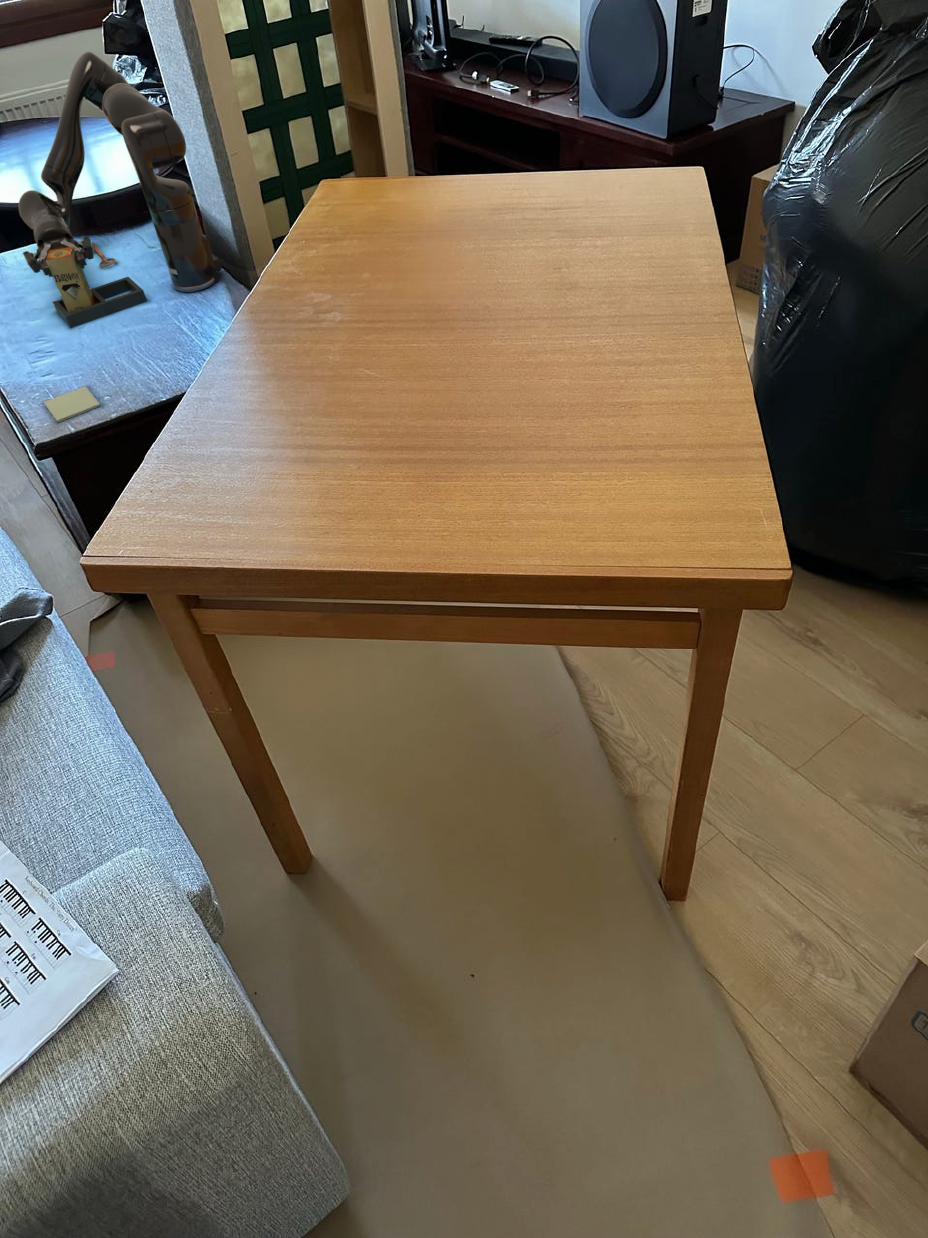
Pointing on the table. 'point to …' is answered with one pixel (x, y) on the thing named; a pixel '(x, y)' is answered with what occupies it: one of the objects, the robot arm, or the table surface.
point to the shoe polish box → (70, 279)
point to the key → (103, 257)
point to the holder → (104, 302)
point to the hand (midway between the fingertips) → (65, 267)
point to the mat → (71, 404)
